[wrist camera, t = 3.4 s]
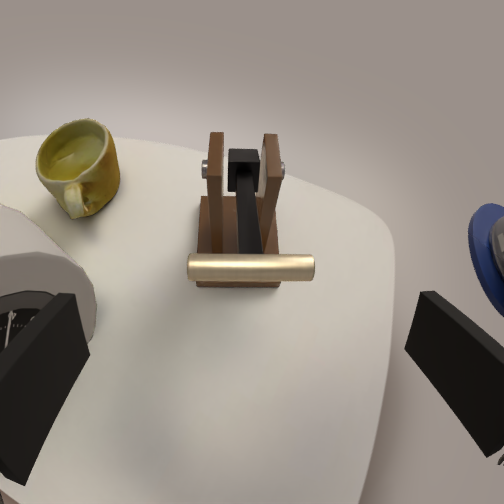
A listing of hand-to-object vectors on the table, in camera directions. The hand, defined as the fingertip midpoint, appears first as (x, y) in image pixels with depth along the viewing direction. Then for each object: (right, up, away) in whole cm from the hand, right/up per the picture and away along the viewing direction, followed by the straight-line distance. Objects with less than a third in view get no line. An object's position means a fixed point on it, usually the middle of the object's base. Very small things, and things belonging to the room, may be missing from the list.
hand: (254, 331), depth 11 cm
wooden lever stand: (-2, +4, +21) cm, 22 cm away
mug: (-20, +9, +23) cm, 31 cm away
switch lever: (-1, +5, +8) cm, 10 cm away
